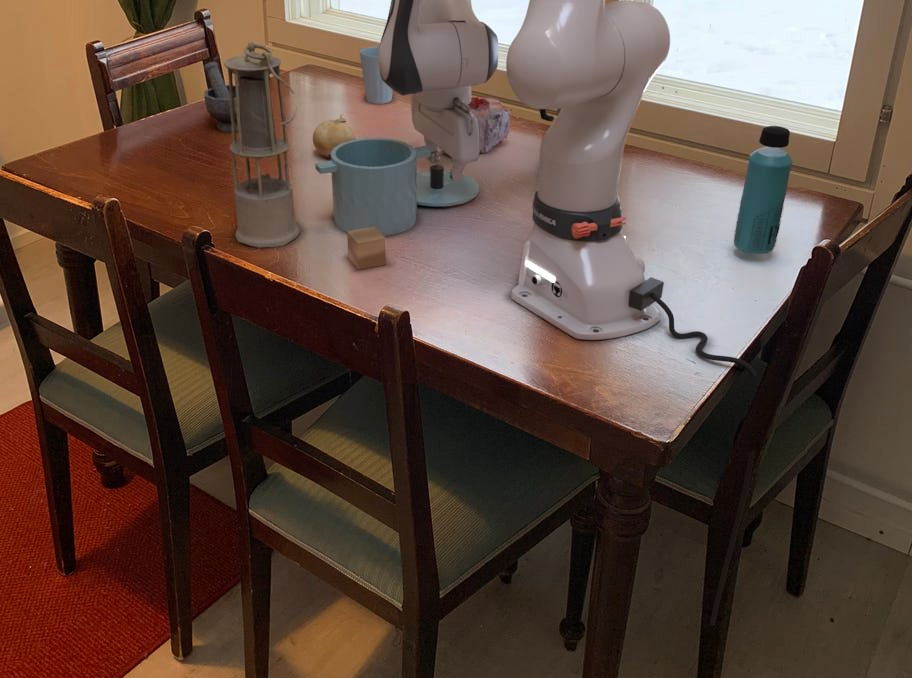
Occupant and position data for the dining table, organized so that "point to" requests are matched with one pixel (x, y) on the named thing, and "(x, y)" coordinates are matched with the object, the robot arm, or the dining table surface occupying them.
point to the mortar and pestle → (220, 99)
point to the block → (366, 248)
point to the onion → (331, 135)
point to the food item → (490, 122)
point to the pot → (374, 184)
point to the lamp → (260, 152)
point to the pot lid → (443, 188)
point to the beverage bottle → (764, 193)
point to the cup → (374, 77)
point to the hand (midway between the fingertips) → (444, 170)
